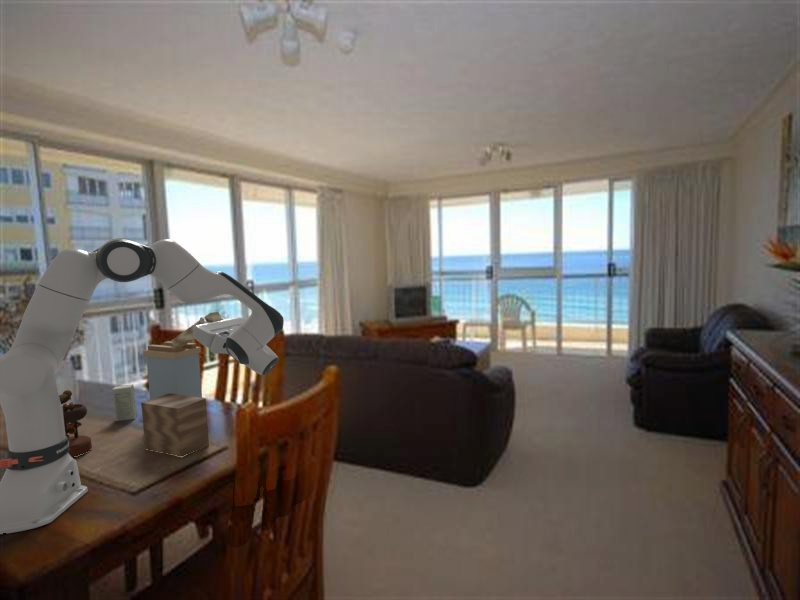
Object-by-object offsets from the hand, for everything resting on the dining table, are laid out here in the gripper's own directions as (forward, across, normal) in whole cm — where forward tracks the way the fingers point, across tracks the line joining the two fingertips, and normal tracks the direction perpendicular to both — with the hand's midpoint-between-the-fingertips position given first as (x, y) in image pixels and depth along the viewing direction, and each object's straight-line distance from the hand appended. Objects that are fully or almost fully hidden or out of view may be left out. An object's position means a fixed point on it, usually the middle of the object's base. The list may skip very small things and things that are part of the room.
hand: (207, 317), depth 153 cm
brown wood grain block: (-19, +15, +34) cm, 41 cm away
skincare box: (+16, +4, +54) cm, 57 cm away
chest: (-4, 0, +42) cm, 43 cm away
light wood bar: (+2, 0, +8) cm, 8 cm away
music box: (+6, +30, +48) cm, 57 cm away
